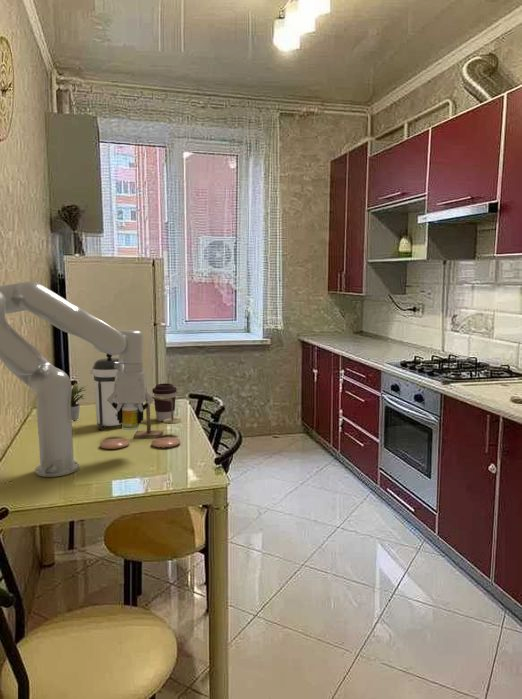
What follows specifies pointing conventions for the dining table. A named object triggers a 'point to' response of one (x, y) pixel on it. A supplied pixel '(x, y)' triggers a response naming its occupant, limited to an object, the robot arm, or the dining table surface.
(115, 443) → the pink disc
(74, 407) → the house plant
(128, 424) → the supplement bottle
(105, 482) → the dining table surface
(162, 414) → the coffee cup
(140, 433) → the balance
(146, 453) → the dining table surface
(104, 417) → the coffee press
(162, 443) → the tan flat disc
